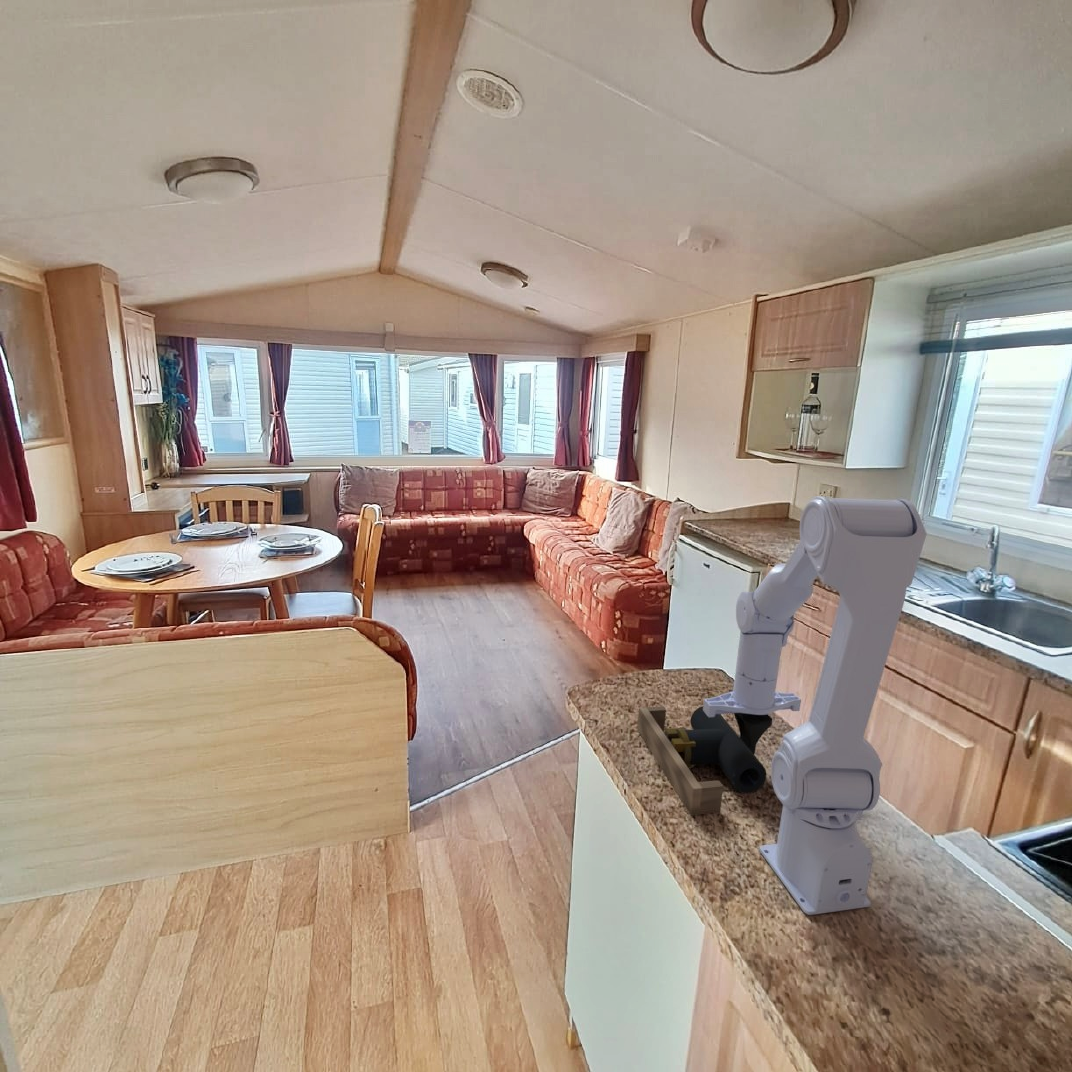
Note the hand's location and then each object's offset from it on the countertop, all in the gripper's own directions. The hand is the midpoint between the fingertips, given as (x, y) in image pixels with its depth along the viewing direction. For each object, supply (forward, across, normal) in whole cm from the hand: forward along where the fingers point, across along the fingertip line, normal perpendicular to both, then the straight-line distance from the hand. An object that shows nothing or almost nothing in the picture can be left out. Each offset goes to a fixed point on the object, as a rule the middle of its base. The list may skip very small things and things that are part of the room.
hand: (745, 753), depth 87 cm
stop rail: (+2, +11, -1) cm, 11 cm away
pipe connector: (+2, +6, -1) cm, 6 cm away
